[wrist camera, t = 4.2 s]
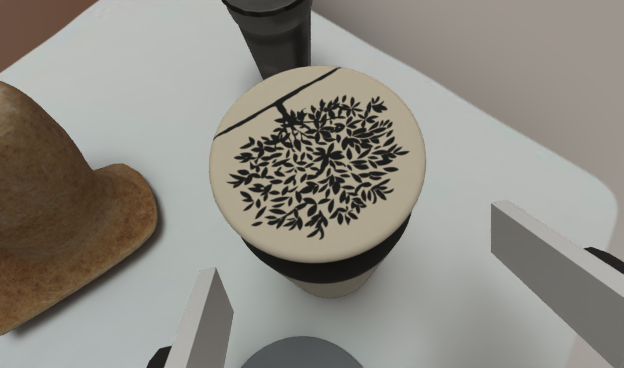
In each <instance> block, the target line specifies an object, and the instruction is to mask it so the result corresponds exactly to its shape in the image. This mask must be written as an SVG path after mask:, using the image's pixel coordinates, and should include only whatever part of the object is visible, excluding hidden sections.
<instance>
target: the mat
mask: <svg viewBox="0 0 624 368" xmlns="http://www.w3.org/2000/svg"><path fill="white" fill-rule="evenodd" d="M241 368H363V367H362V366H361V365H360V364H359V363H358V362H357V361H356V360H355V359H354V358H353V357H352V356H351V355H350V354H349V353H347V352H346V351H345V350H343V349H342V348H340V347H338V346H337V345H335V344H333V343H330V342H328V341H326V340H322V339H318V338H314V337H291V338H285V339H282V340H279V341H276V342H274V343H272V344H270V345H268V346H266V347H264V348H262V349H261V350H259V351H258V352H256V353H255V354H254V355H253V356H252V357H251V358H249V359H248V360H247V361H246V363H245V364H244V365H243V366H242V367H241Z"/></svg>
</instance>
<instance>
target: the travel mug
mask: <svg viewBox="0 0 624 368" xmlns="http://www.w3.org/2000/svg"><path fill="white" fill-rule="evenodd" d="M425 172H426V151H425V145H424V140H423V137H422V133H421V130H420V128H419V125H418V123H417V121H416V119H415V117H414V116H413V114H412V112H411V111H410V109H409V108H408V107H407V105H406V104H405V103H404V102H403V101H402V99H401V98H400V97H399V96H398V95H397V94H395V93H394V92H393V91H392V90H391V89H389V88H388V87H387V86H385V85H384V84H382V83H381V82H379V81H377V80H376V79H374V78H372V77H370V76H368V75H365V74H363V73H360V72H357V71H354V70H350V69H346V68H341V67H334V66H307V67H301V68H296V69H291V70H288V71H284V72H281V73H279V74H276V75H274V76H271V77H269V78H267V79H265V80H263V81H262V82H260V83H258V84H257V85H255V86H254V87H252V88H251V89H250V90H248V91H247V92H246V93H245V94H243V95H242V96H241V97H240V98H239V99H238V100H237V101H236V102H235V103H234V104H233V106H232V107H231V108H230V109H229V110H228V112H227V113H226V115H225V116H224V118H223V119H222V121H221V123H220V125H219V127H218V129H217V131H216V134H215V136H214V139H213V142H212V146H211V151H210V158H209V177H210V184H211V188H212V192H213V195H214V198H215V201H216V203H217V205H218V207H219V210H220V211H221V213H222V215H223V216H224V218H225V219H226V221H227V222H228V223H229V224H230V226H231V227H232V228H233V229H234V230H235V231H236V232H237V233H238V234H239V235H240V236H241V238H242V240H243V241H244V242H245V244H246V245H247V247H248V248H249V249H250V250H251V251H252V252H253V253H254V254H255V255H256V256H257V257H258V258H259V259H260V260H261V261H263V262H264V263H265V264H267V265H268V266H270V267H271V268H273V269H274V270H276V271H277V272H278V273H280V274H281V275H283V276H284V277H286V278H287V279H289V280H290V281H292V282H293V283H295V284H296V285H298V286H299V287H301V288H302V289H303V290H305V291H307V292H309V293H311V294H313V295H316V296H320V297H326V298H335V297H341V296H345V295H347V294H350V293H352V292H354V291H355V290H357V289H358V288H360V287H361V286H362V285H363V284H364V283H365V282H366V281H367V279H368V278H369V277H370V276H371V275H372V273H373V272H374V271H375V270H376V268H377V267H378V266H379V265H380V263H381V262H382V261H383V260H384V258H385V257H386V256H387V255H388V253H389V252H390V251H391V250H392V248H393V247H394V246H395V245H396V243H397V242H398V241H399V239H400V238H401V236H402V234H403V233H404V231H405V229H406V227H407V225H408V222H409V219H410V216H411V212H412V209H413V208H414V206H415V204H416V202H417V200H418V197H419V195H420V193H421V190H422V186H423V183H424V178H425Z"/></svg>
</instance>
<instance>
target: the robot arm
mask: <svg viewBox="0 0 624 368" xmlns="http://www.w3.org/2000/svg"><path fill="white" fill-rule="evenodd" d="M491 252H492V253H493V254H494V255H495V256H496V257H497V258H498V259H499V260H500V261H501V262H502V263H503V264H504V265H505V266H506V267H507V268H509V269H510V270H511V271H512V272H513V273H514V274H515V275H516V276H517V277H518V278H519V279H520V280H521V281H522V282H523V283H524V284H526V285H527V286H528V287H529V288H530V289H531V290H532V291H533V292H534V293H535V294H536V295H537V296H538V297H539V298H540V299H541V300H542V301H544V302H545V303H546V304H547V305H548V306H549V307H550V308H551V309H552V310H553V311H554V312H555V313H556V314H557V315H558V316H559V317H561V318H562V319H563V320H564V321H565V322H566V323H567V324H568V325H569V326H570V327H571V328H572V329H573V330H574V331H575V332H576V333H578V334H579V335H580V336H581V337H582V338H583V339H584V340H585V341H586V342H587V343H588V344H589V345H590V346H591V347H592V348H593V349H595V350H596V351H597V352H598V353H599V354H600V355H601V356H602V357H603V358H604V359H605V360H606V361H607V362H608V363H610V365H612V366H613V367H614V368H624V262H622V261H621V260H619V259H617V258H616V257H614V256H612V255H611V254H609V253H607V252H604V251H601V250H598V249H596V248H593V247H589V248H584V249H583V248H582V247H580V246H578V245H577V244H575V243H574V242H572V241H571V240H569V239H568V238H566V237H564V236H563V235H561V234H560V233H558V232H557V231H555V230H554V229H552V228H550V227H549V226H547V225H546V224H544V223H543V222H541V221H540V220H538V219H536V218H535V217H533V216H532V215H530V214H529V213H527V212H526V211H524V210H523V209H521V208H519V207H518V206H516V205H515V204H513V203H512V202H510V201H509V200H503V201H499V202H495V203H491ZM233 313H234V312H233V309H232V307H231V304H230V301H229V299H228V296H227V294H226V291H225V289H224V286H223V284H222V281H221V279H220V276H219V274H218V271H217V269H216V267H215V268H211V269H207V270H202V271H200V272H199V275H198V277H197V280H196V283H195V285H194V288H193V291H192V294H191V296H190V299H189V302H188V304H187V307H186V310H185V312H184V315H183V318H182V321H181V323H180V326H179V329H178V331H177V334H176V337H175V340H174V342H173V345H172V346H169V347H164V348H160V349H159V350H158V351H157V352H156V354H155V355H154V356H153V357H152V359H151V360H150V361H149V363H148V365H147V368H224V363H225V358H226V352H227V346H228V341H229V335H230V330H231V324H232V319H233Z"/></svg>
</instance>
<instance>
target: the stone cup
mask: <svg viewBox="0 0 624 368" xmlns="http://www.w3.org/2000/svg"><path fill="white" fill-rule="evenodd" d="M157 223H158V212H157V205H156V201H155V197H154V194H153V192H152V190H151V188H150V187H149V185H148V183H147V182H146V180H145V179H144V178H143V176H142V175H141V174H140V173H139V172H138V171H136V170H134V169H132V168H130V167H129V166H127V165H125V164H112V165H109V166H106V167H103V168H100V169H97V170H95V171H93V170H92V169H91V168H90V166H89V165H88V163H87V162H86V160H85V159H84V157H83V155H82V153H81V152H80V150H79V149H78V147H77V146H76V144H75V143H74V142H73V140H72V139H71V138H70V136H69V135H68V134H67V132H66V131H65V130H64V129H63V128H62V127H61V126H60V125H59V124H58V123H57V122H56V121H55V120H54V119H53V118H52V117H51V116H50V115H49V114H48V113H47V112H46V111H45V110H44V109H43V108H42V107H41V106H40V105H38V104H37V103H36V102H35V101H34V100H33V99H32V98H30V97H29V96H28V95H26V94H25V93H23V92H22V91H20V90H19V89H17V88H15V87H13V86H11V85H9V84H7V83H4V82H2V81H0V336H1V335H4V334H6V333H8V332H10V331H11V330H13V329H15V328H16V327H18V326H20V325H21V324H23V323H25V322H26V321H28V320H30V319H32V318H34V317H36V316H37V315H39V314H40V313H42V312H44V311H45V310H47V309H48V308H50V307H52V306H53V305H55V304H56V303H58V302H60V301H61V300H63V299H64V298H66V297H67V296H69V295H71V294H72V293H74V292H76V291H77V290H79V289H80V288H82V287H83V286H85V285H87V284H88V283H90V282H91V281H93V280H94V279H96V278H97V277H99V276H100V275H102V274H103V273H105V272H106V271H108V270H109V269H111V268H112V267H113V266H115V265H116V264H118V263H119V262H120V261H122V260H123V259H125V258H126V257H127V256H129V255H130V254H132V253H133V252H134V251H135V250H137V249H138V248H139V247H140V246H141V245H142V244H143V243H144V242H145V241H146V240H147V239H148V238H149V237H150V236H151V235H152V234H153V232H154V231H155V229H156V227H157Z"/></svg>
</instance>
